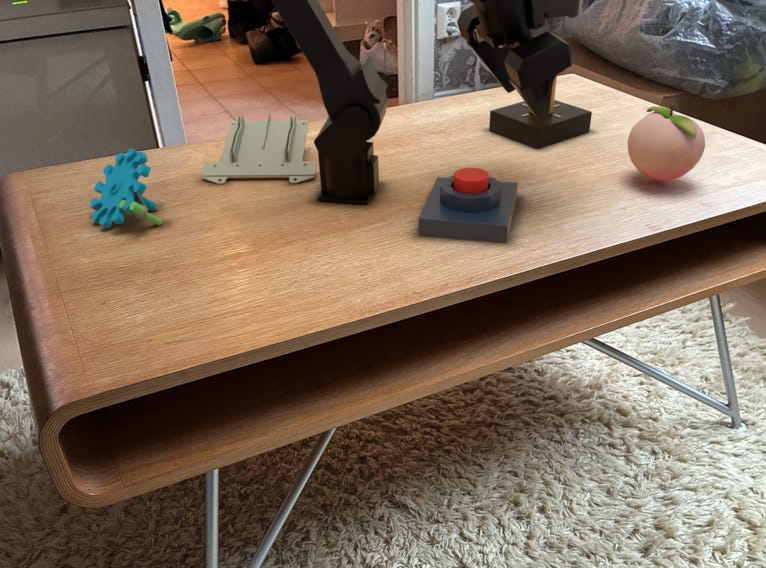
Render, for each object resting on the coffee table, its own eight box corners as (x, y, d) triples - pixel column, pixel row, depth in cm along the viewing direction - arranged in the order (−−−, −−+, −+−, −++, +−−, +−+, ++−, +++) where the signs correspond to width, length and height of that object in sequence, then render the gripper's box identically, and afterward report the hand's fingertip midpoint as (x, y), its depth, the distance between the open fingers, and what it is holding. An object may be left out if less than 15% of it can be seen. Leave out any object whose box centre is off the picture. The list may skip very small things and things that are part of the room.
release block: (506, 243, 85) (509, 210, 82) (418, 236, 86) (418, 203, 84) (516, 199, 94) (519, 168, 92) (436, 193, 96) (437, 162, 94)
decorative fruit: (606, 178, 99) (617, 100, 93) (652, 165, 102) (666, 89, 96) (660, 203, 92) (676, 122, 86) (707, 189, 96) (726, 109, 90)
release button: (485, 196, 86) (486, 182, 85) (450, 194, 87) (451, 179, 86) (490, 182, 89) (490, 168, 88) (456, 180, 90) (456, 166, 89)
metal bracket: (214, 106, 107) (321, 105, 106) (223, 141, 111) (325, 140, 111) (196, 172, 98) (312, 170, 98) (206, 206, 103) (317, 205, 102)
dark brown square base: (537, 149, 108) (539, 127, 106) (488, 130, 114) (490, 109, 112) (589, 131, 113) (592, 110, 111) (540, 115, 120) (542, 94, 118)
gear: (77, 196, 93) (124, 131, 91) (119, 218, 97) (165, 156, 95) (100, 243, 86) (152, 173, 84) (144, 264, 90) (194, 198, 88)
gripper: (608, -38, 74) (627, 104, 84) (526, -77, 87) (552, 49, 98) (504, 13, 74) (537, 149, 84) (439, -34, 87) (475, 88, 98)
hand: (527, 105), depth 91 cm, fingers open, 9 cm apart
